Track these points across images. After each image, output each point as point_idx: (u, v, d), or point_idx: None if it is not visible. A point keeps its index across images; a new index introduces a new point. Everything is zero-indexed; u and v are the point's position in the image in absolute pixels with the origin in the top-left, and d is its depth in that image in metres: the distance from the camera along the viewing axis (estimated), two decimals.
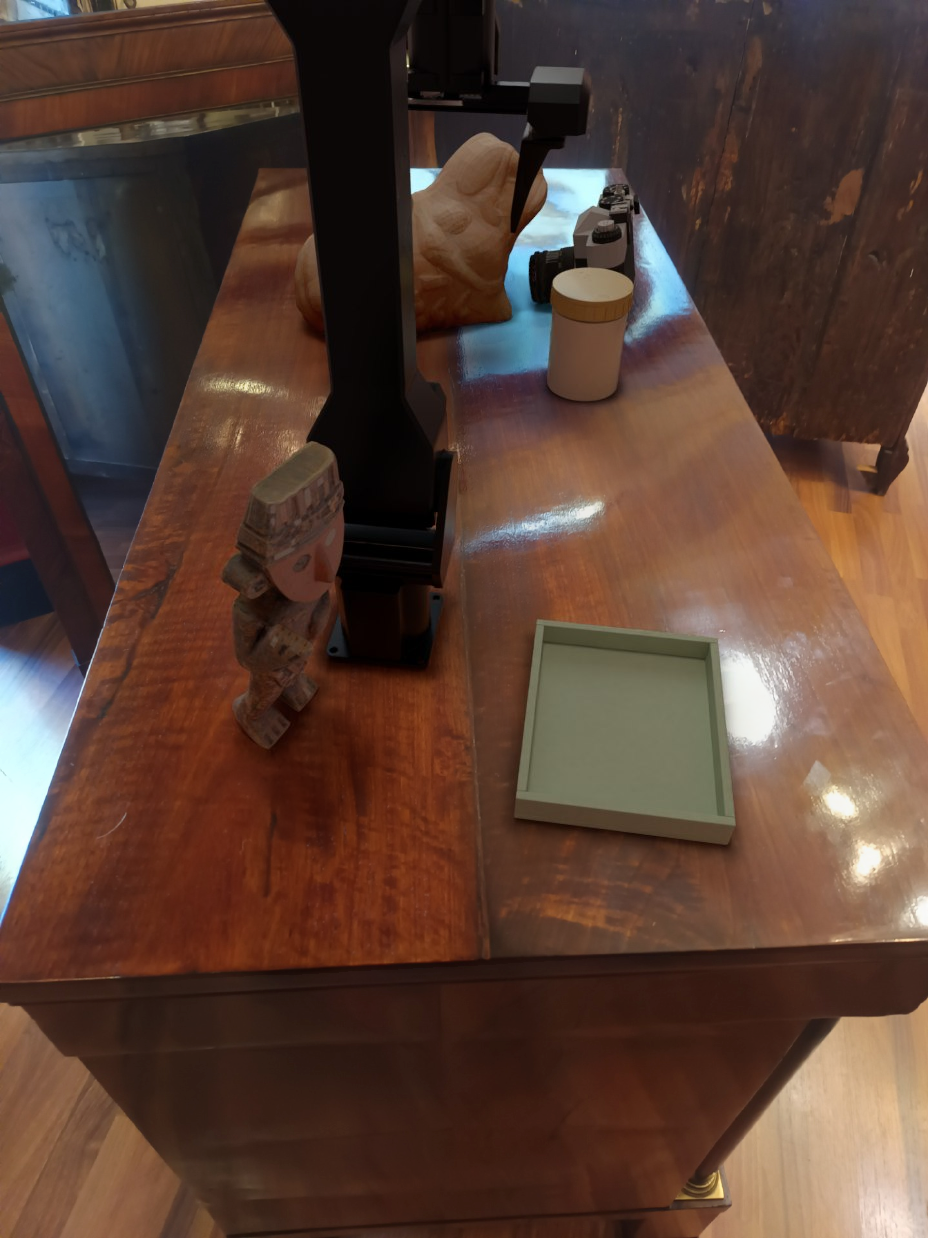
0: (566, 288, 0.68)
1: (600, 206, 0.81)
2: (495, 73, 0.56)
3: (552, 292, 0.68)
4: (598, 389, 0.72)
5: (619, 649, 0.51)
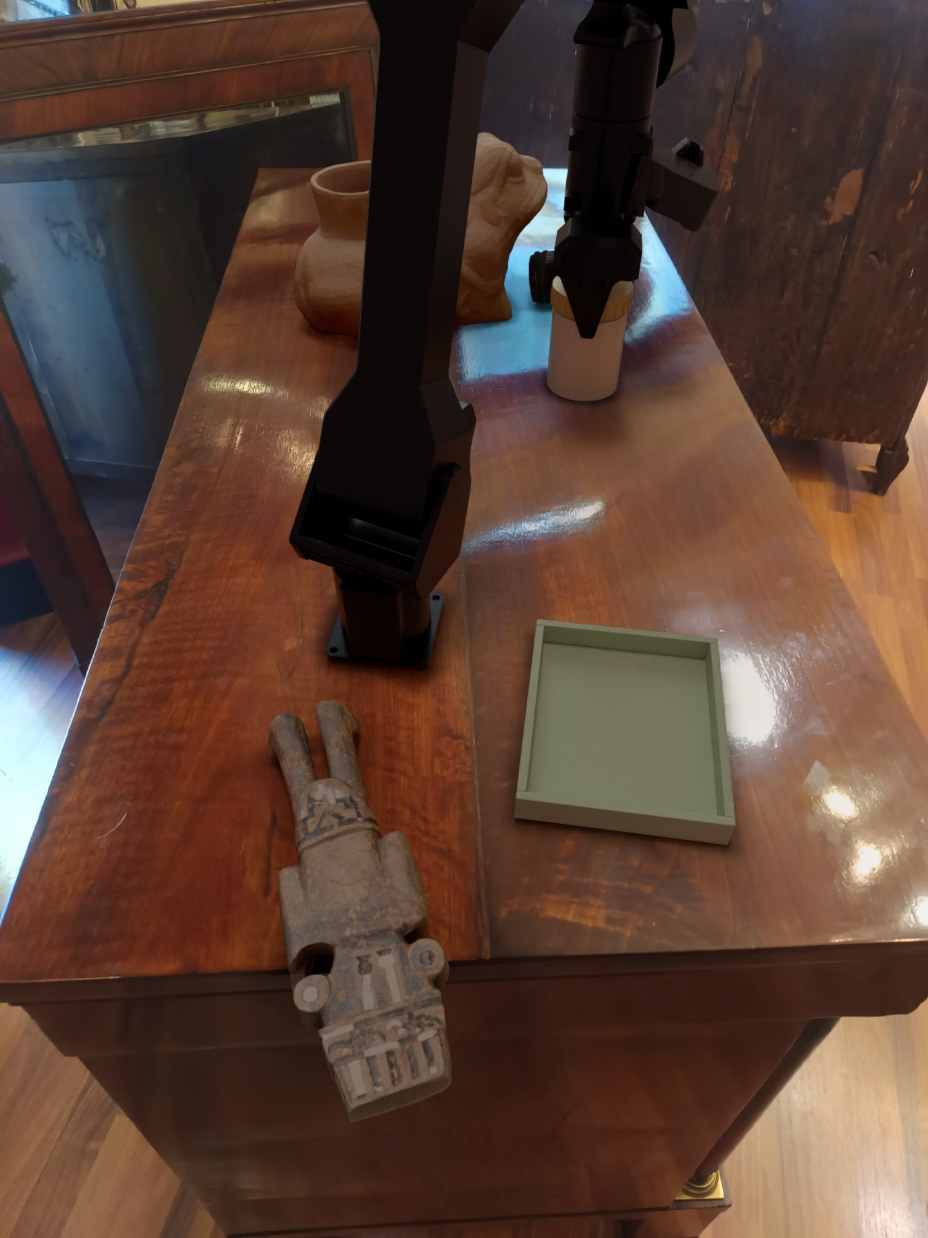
0: None
1: None
2: (626, 213, 0.61)
3: (552, 292, 0.68)
4: (598, 389, 0.72)
5: (619, 649, 0.51)
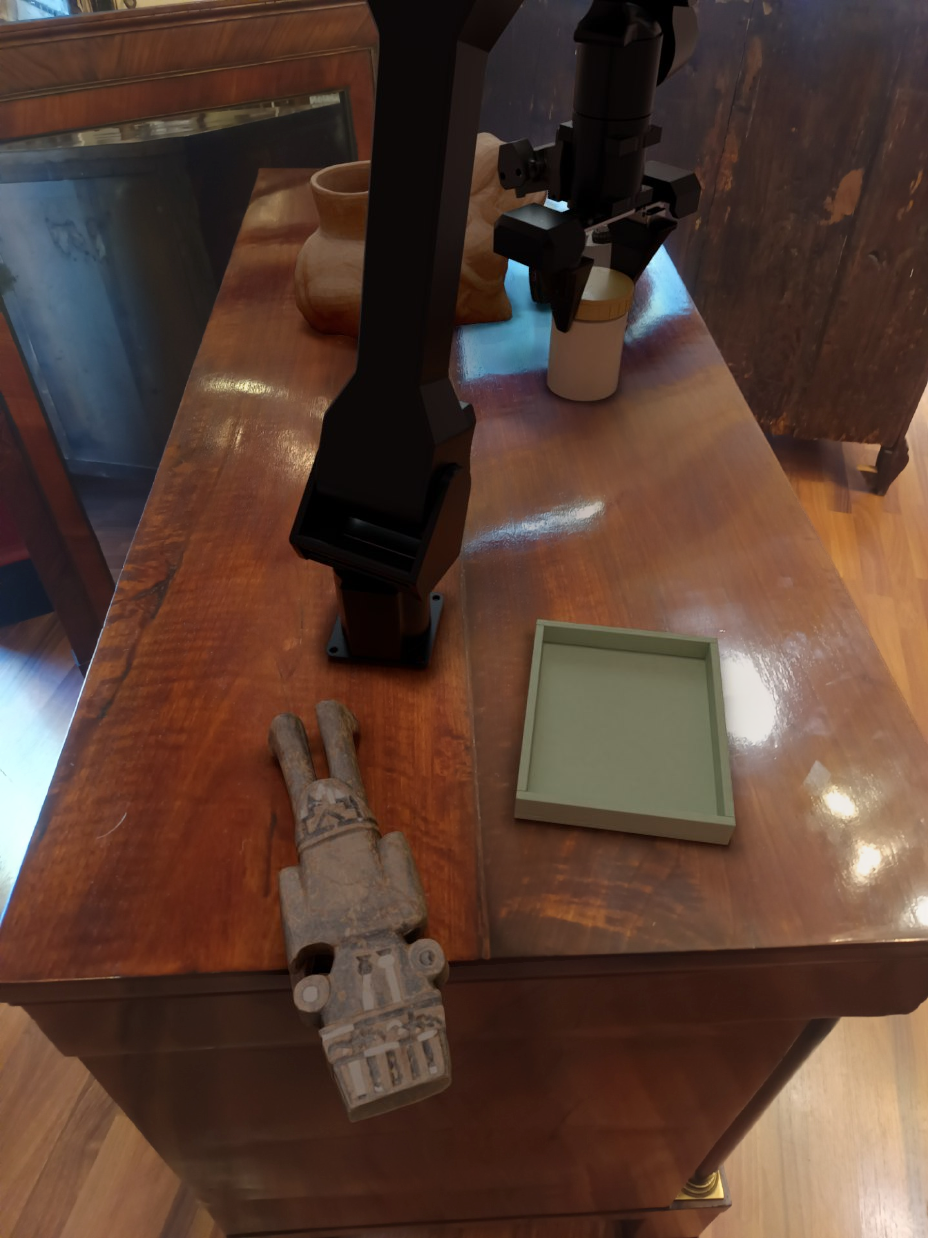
0: (622, 286, 0.67)
1: None
2: None
3: (628, 299, 0.67)
4: (598, 389, 0.72)
5: (619, 649, 0.51)
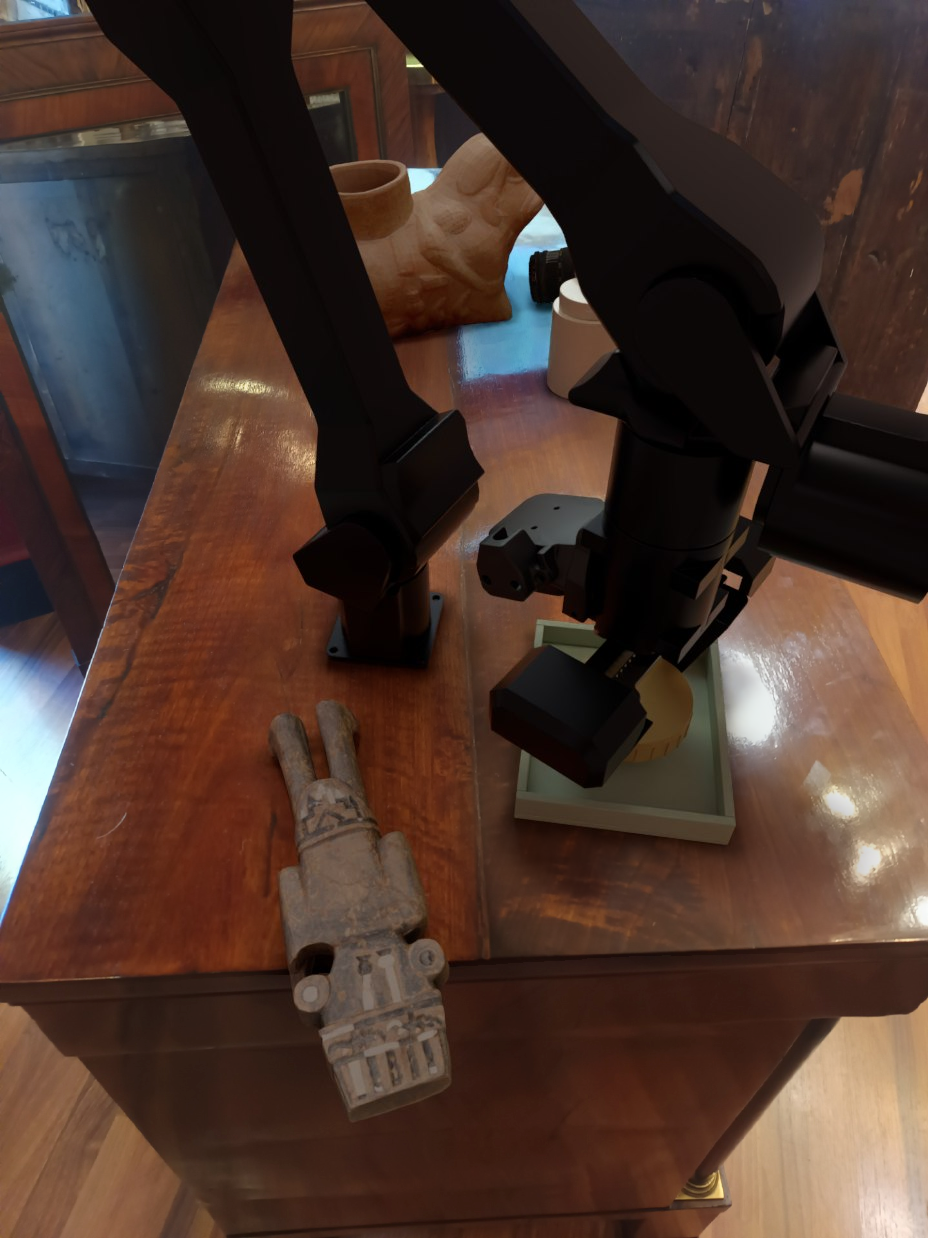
0: (676, 698, 0.44)
1: None
2: None
3: (689, 721, 0.44)
4: None
5: None
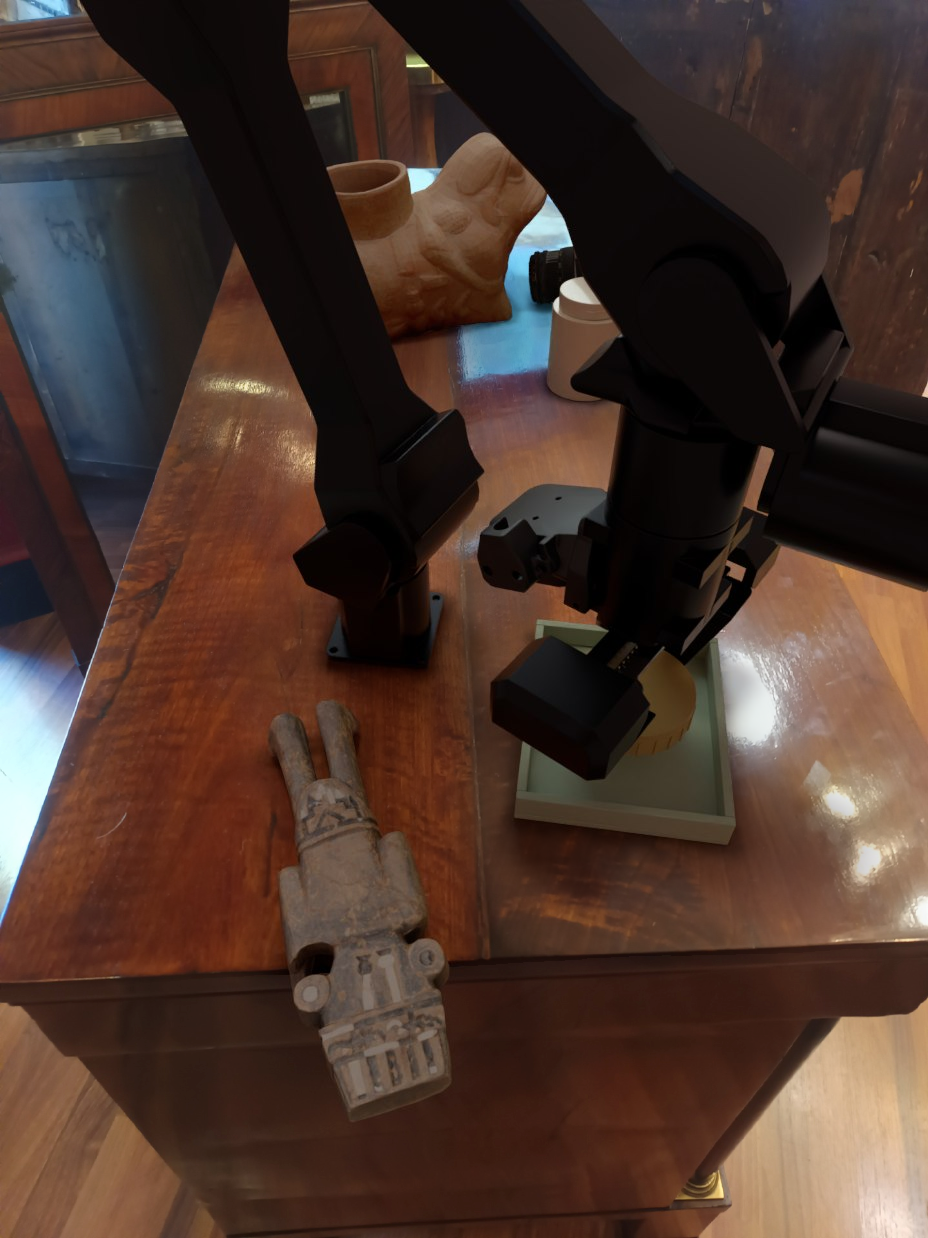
0: (679, 691, 0.44)
1: None
2: None
3: (692, 714, 0.43)
4: None
5: None
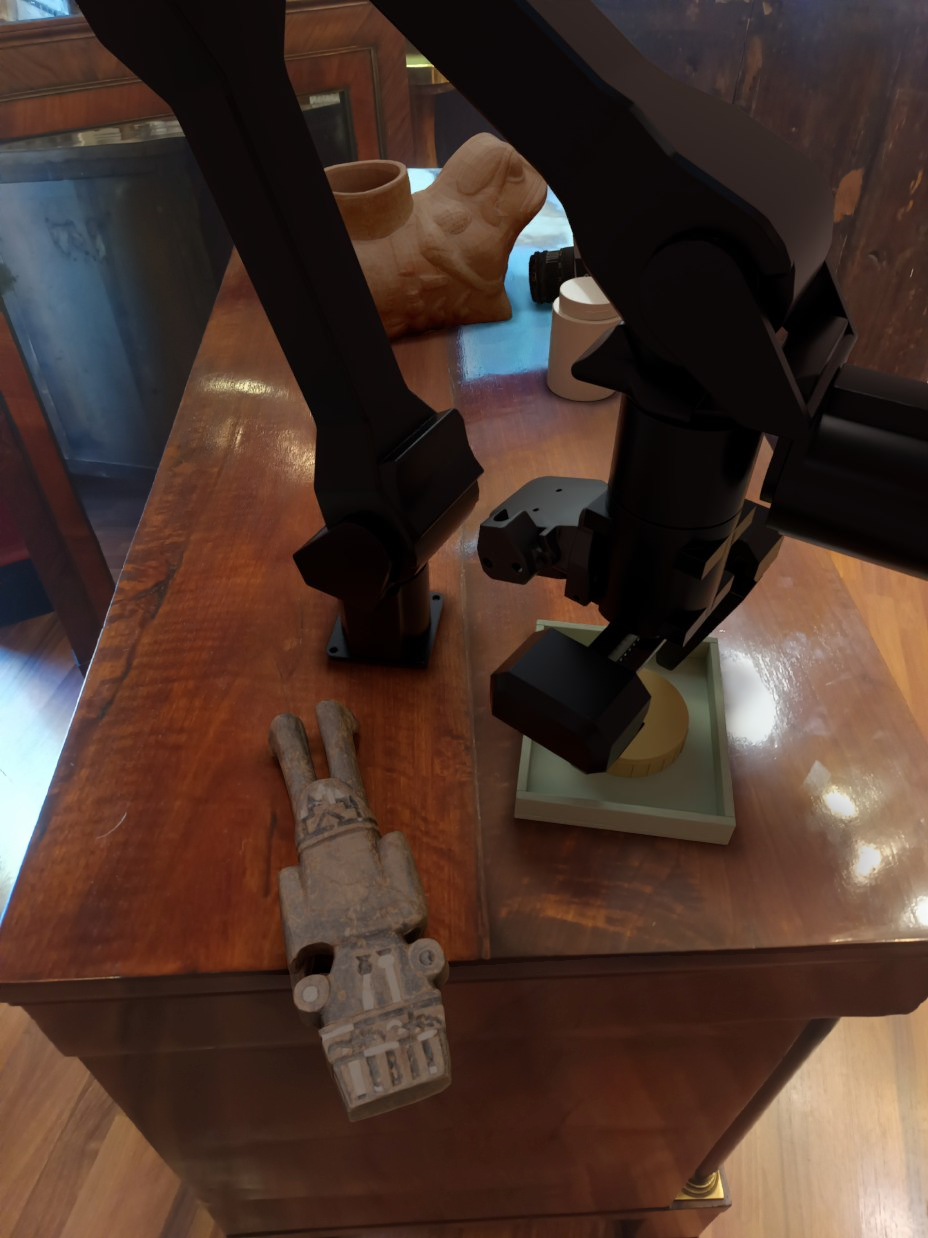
0: (672, 715, 0.45)
1: None
2: None
3: (685, 737, 0.45)
4: (598, 389, 0.72)
5: None
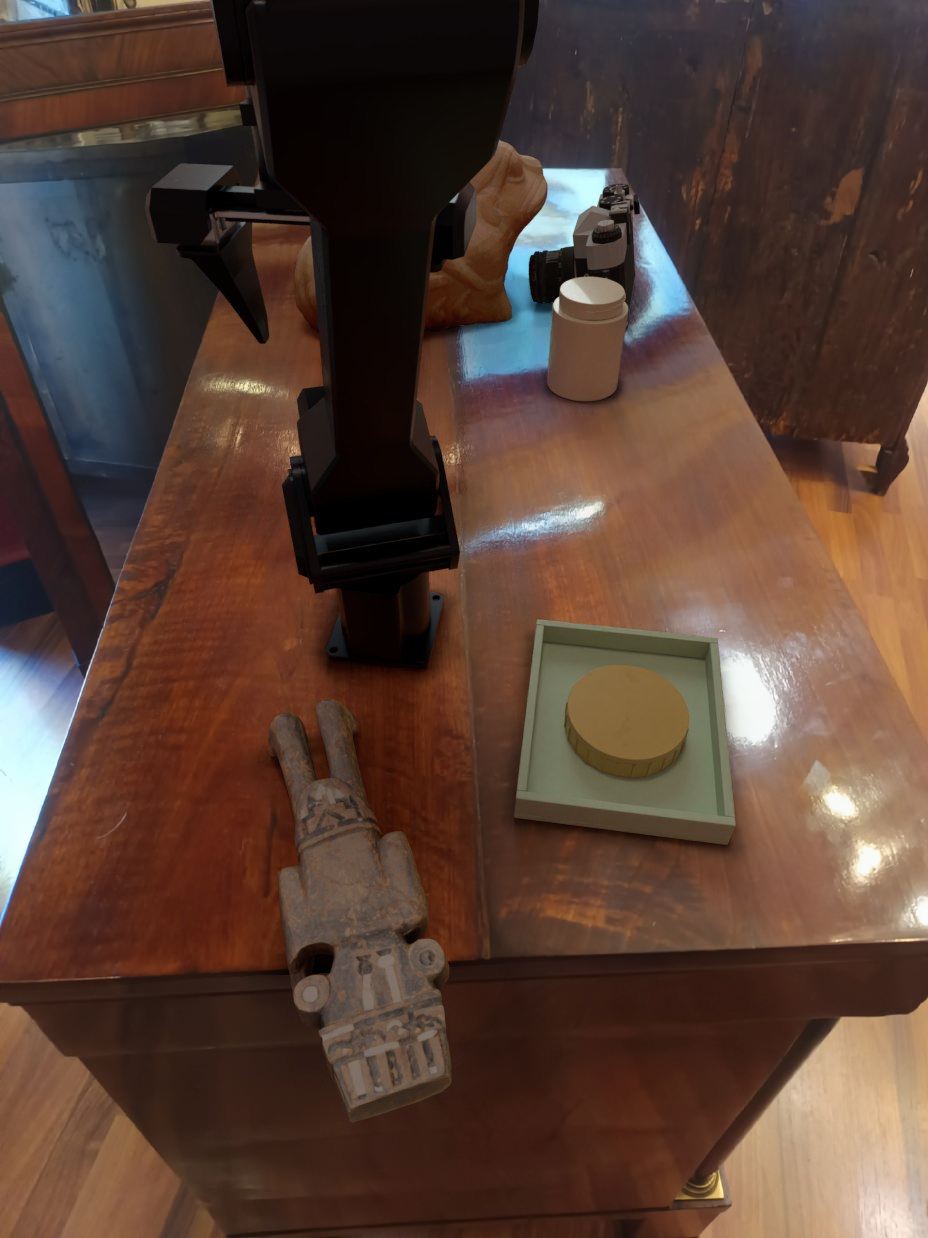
0: (672, 715, 0.45)
1: (600, 206, 0.81)
2: None
3: (685, 737, 0.45)
4: (598, 389, 0.72)
5: (619, 649, 0.51)
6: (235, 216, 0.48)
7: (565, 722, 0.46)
